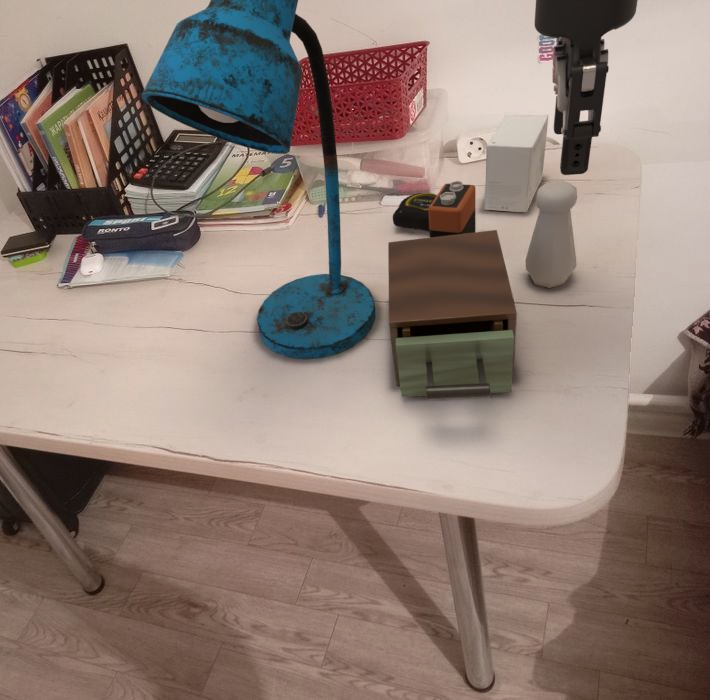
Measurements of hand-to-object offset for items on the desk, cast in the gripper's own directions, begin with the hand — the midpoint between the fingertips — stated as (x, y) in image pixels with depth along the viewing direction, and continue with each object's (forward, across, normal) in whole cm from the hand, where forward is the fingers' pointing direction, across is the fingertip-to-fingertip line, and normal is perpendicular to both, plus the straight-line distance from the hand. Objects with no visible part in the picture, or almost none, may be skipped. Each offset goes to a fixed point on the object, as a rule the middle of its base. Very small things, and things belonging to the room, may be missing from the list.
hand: (569, 151), depth 60 cm
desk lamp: (+22, -1, +30) cm, 37 cm away
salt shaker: (+22, +9, 0) cm, 23 cm away
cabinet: (+22, -3, +12) cm, 25 cm away
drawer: (+21, -8, +11) cm, 25 cm away
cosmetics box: (+22, +30, +3) cm, 38 cm away
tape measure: (+22, +23, +16) cm, 36 cm away
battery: (+22, +15, +12) cm, 29 cm away
